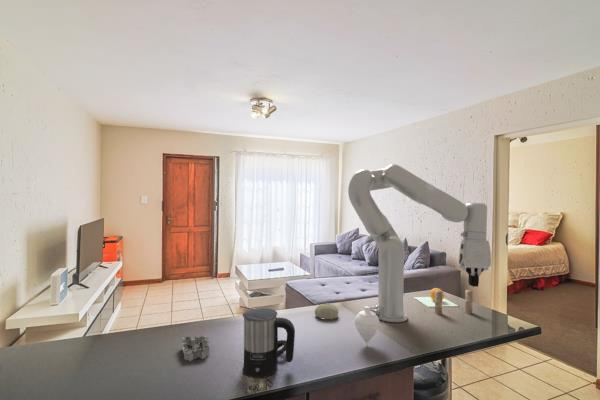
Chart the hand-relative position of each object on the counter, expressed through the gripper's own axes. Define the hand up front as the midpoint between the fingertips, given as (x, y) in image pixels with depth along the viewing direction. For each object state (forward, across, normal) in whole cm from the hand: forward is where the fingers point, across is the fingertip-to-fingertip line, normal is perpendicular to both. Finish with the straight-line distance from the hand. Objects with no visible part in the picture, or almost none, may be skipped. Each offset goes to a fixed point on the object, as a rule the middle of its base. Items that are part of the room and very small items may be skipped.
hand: (473, 285), depth 119 cm
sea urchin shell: (+16, -52, +12) cm, 56 cm away
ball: (+12, +2, +28) cm, 31 cm away
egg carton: (+16, -96, -15) cm, 99 cm away
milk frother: (+16, -76, -23) cm, 80 cm away
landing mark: (+15, 0, +28) cm, 31 cm away
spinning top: (+15, -44, -14) cm, 49 cm away
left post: (+15, -6, +13) cm, 20 cm away
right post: (+14, +7, +13) cm, 21 cm away
